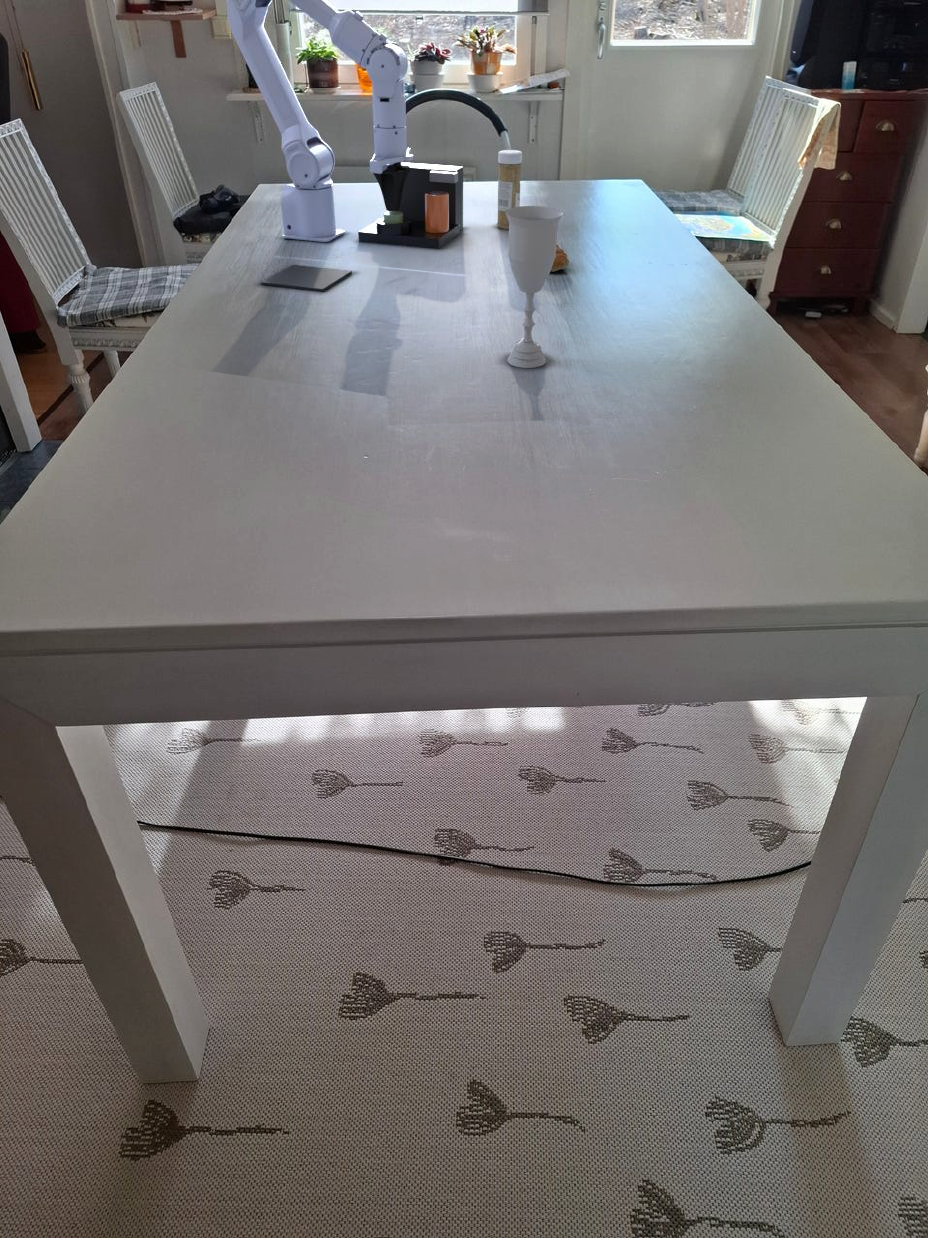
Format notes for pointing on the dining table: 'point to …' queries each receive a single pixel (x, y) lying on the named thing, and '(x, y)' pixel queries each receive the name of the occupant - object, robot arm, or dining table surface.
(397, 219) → the button
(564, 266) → the pastry
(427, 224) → the espresso cup
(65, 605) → the dining table surface
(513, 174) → the sprinkles bottle
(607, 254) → the dining table surface
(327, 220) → the robot arm
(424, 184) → the coffee maker column
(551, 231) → the chalice
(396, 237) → the coffee maker base
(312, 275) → the mat
